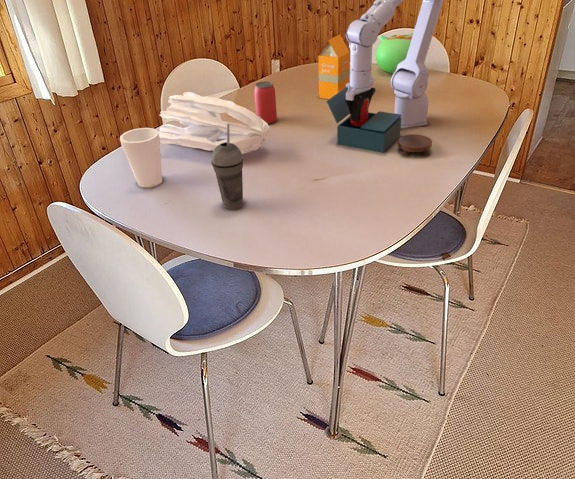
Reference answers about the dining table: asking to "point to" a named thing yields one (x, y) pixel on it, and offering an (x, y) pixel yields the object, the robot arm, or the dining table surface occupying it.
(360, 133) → the teal box
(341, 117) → the cool box flap
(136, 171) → the foam cup
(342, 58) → the orange juice
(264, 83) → the beer can
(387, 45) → the green round bowl
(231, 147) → the beverage cup
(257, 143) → the white plastic bag
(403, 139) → the coaster
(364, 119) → the can
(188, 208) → the dining table surface
